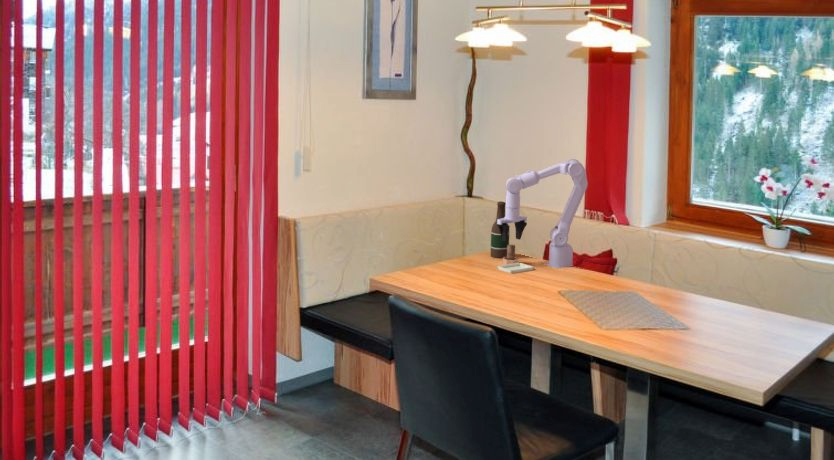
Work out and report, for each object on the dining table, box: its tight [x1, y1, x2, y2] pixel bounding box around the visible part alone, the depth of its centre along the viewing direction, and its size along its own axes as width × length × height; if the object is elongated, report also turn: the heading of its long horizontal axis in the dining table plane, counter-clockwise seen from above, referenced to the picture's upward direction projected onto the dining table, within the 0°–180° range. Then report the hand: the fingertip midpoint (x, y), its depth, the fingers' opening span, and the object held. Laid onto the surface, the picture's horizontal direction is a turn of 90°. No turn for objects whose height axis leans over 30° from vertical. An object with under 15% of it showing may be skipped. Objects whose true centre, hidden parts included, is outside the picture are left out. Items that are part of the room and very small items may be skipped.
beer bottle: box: [490, 201, 510, 260], centre depth 374 cm, size 8×8×24 cm
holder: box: [502, 256, 520, 265], centre depth 364 cm, size 6×6×2 cm
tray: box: [496, 262, 535, 274], centre depth 354 cm, size 12×9×2 cm
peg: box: [507, 244, 516, 260], centre depth 364 cm, size 3×3×8 cm
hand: (511, 240), depth 362 cm, fingers open, 7 cm apart
